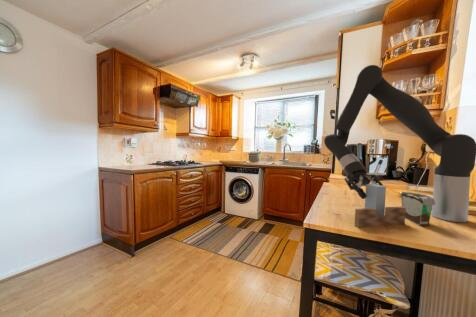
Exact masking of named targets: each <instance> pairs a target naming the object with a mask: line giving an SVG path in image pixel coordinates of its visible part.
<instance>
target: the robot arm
mask: <svg viewBox="0 0 476 317" xmlns="http://www.w3.org/2000/svg"><path fill="white" fill-rule="evenodd" d="M356 76H357V77H356V81H355V85H354V88H353V90H352V92H351V94H350V97H349V99H348V101H347V103H346V104H345V106H344V107H343V110H342V112H341V113H340V116H339V118H338V119H337V121H336V123H335V125H334V127H335V129H336V130H337V134H335V133H329V134H326V135H325V137H324V138H323V139H324V140H323V142H324V145H325V147H326V148H327V150H329V151H330V152H331V153H332V154H333V155H334V156H335V158H336V160H337V161H338V163H339V164H340V167H341V168H342V169H343V171H344V173H345V175H346V176H345V178H344V181H345V182H346V185H347V186H348V188H349V190H350V191H352V190H354V191H355V192H356V193H357V195H359V197H360V199H362V200H365V198H366V197H367V195H366V191H364V190H363V188H362V187H366V184H376V185H381V186H384V184H383V183H382V182H381V181H380V180H379V178H378V177H377V176H376V175H375V174H372V175H369V174H367V168H366V167H365V165H364V164H363V163H362V162H361V161H360V159H359V157H357V156H356V155H355V154H354V152H353V151H352V149H351V148H349V147H348V146H346V145H347V143H348V140H349V137H350V136H349V135H350V131H351V130H352V127H353V125H354V123H355V122H356V120H357V117H358V115H359V114H360V111H361V109H362V108H363V106H364V103H365V101H366V100H367V98H368V96H369V95H370V96H371V97H373V98H375V99H376V100H377V101H378V102H379V103H380V104H381V105H382V107H384V108H385V109H386V111H387V112H389V113H390V114H391V115H392V116H393V117H394V118H396V120H398V121H399V122H400V123H401V124H402V125H404V126H405V127H406V128H408V129H409V130H410V131H411V132H412V133H414V134H415V135H417V137H419V139H421V141H423V142H424V143H425V145H426V146H428V147H429V149H430V150H431V151H432V152H433V153H435V154H436V156H438V157H440V159H439V160H440V161H439V164H438V165H437V166H436V167H435V168H434V171H433V172H434V174H433V175H434V176H433V188H432V189H433V192H432V197H433V199H434V200H435V205H432V210H431V216H432V217H434V218H437V219H440V220H444V221H448V222H455V223H468V221H469V205H470V184H471V174H472V172H473V171H474V168H475V164H476V140H475V139H474V138H473V137H472V136H469V135H468V134H463V133H456V134H451V133H449V132H448V131H446V130H445V129H443V127H441V126H440V125H438V123H437V122H436V121H435V119H434V117H433V116H432V114H431V112H430V111H429V109H428V108H427V107H426V105H424V104H423V103H422V102H421V101H419V100H418V99H417V98H416V97H414V96H413V95H411V94H409V93H407V92H405V91H403V90H401V89H398V88H397V87H395V86H393V85H392V84H390V83H389V81H387V80H386V79H385V78H384V76H383V71H382V68H381V67H380V66H378V65H375V64H369V65H367V66H364V67H363V68H362V69H361V70H360V71H359V73H358V74H357V75H356Z"/></svg>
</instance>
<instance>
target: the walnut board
mask: <svg viewBox="0 0 476 317" xmlns="http://www.w3.org/2000/svg"><path fill="white" fill-rule="evenodd" d="M376 210H377V209H374V208H365V207H364V208H355V210H354V226H355V227H357V228H367V227H380V226H381V227H382V226H392V225H404V224H405V223H406V219H405V211H406V208H405V207H402V205H401V206H385V214H384V216H376Z"/></svg>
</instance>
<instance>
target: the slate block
mask: <svg viewBox="0 0 476 317" xmlns="http://www.w3.org/2000/svg"><path fill="white" fill-rule="evenodd" d="M365 194H366V195H367V197H366V198H365V199H364V208H374V209H377V210H376V216H384V215H385V207H386V195H387V186H385V185H383V186H381V185H379V184H378V185H376V184H371V183H370V184H366V186H365Z"/></svg>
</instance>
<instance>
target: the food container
mask: <svg viewBox="0 0 476 317" xmlns="http://www.w3.org/2000/svg"><path fill="white" fill-rule="evenodd" d="M400 197H401V206H402V207H405V208H406V211H405V220H407V221H409V222H411V223H413V224H415V225H417V226H419V227H428V226H429V225H430V220H431V216H432V205H435V200H434V199H433V196H431V195H426V194H421V193H417V192H407V191H402V192H401V193H400Z"/></svg>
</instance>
